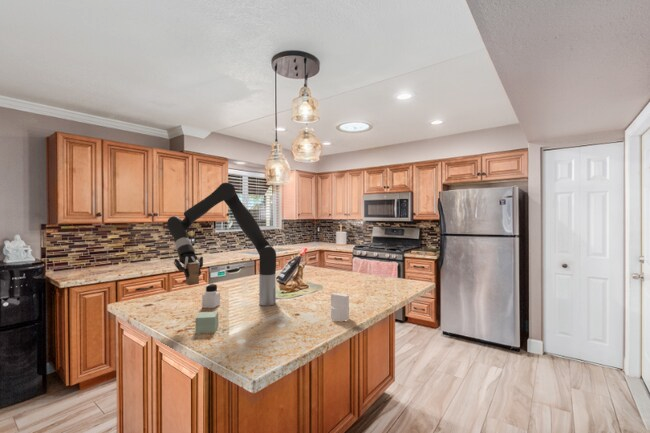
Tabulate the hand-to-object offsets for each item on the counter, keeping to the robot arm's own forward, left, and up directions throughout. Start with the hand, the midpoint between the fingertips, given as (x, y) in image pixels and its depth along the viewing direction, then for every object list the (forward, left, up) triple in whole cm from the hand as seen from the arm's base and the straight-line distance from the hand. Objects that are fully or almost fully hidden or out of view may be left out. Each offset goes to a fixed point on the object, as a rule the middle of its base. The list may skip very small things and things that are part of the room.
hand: (193, 275), depth 149 cm
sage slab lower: (-9, +12, -22) cm, 27 cm away
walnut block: (+1, -2, -4) cm, 5 cm away
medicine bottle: (-3, -26, -22) cm, 34 cm away
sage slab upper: (-9, +12, -19) cm, 24 cm away
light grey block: (-70, +6, -22) cm, 73 cm away
